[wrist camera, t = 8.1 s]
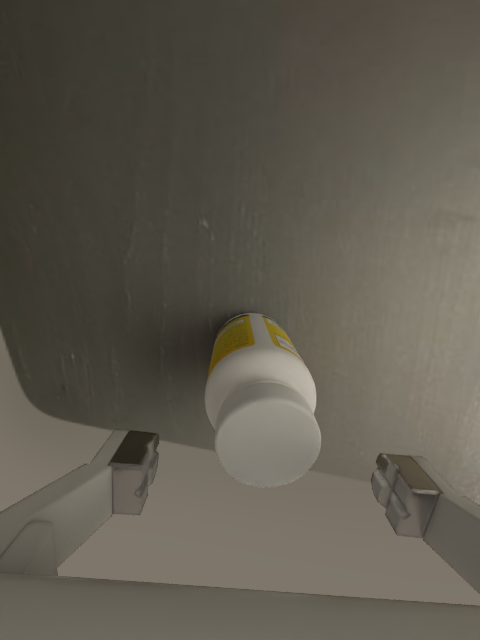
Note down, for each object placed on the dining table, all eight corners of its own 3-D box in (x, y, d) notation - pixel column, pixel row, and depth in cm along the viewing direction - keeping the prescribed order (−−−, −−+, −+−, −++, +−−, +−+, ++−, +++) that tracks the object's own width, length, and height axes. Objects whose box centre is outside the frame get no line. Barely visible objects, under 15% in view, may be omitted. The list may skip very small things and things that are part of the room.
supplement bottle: (211, 376, 19) (187, 496, 10) (218, 306, 18) (199, 370, 8) (281, 383, 20) (324, 508, 10) (293, 316, 18) (357, 387, 9)
